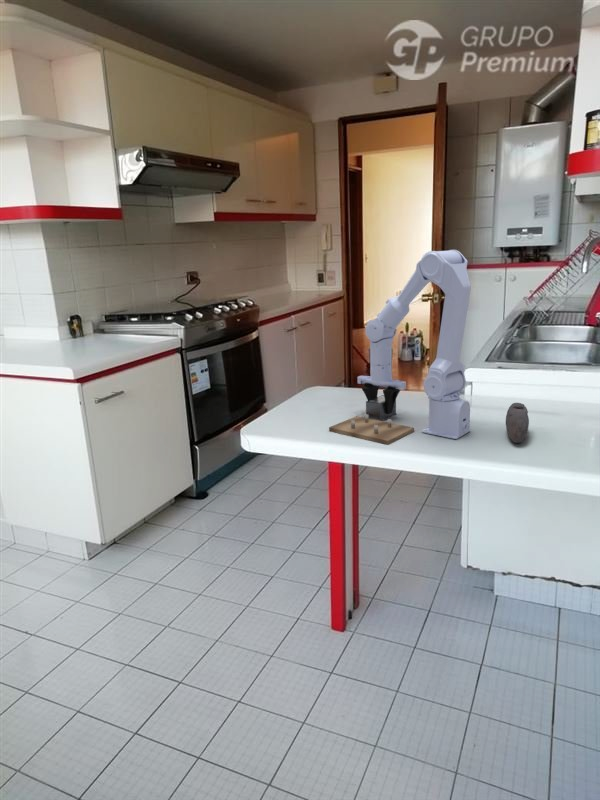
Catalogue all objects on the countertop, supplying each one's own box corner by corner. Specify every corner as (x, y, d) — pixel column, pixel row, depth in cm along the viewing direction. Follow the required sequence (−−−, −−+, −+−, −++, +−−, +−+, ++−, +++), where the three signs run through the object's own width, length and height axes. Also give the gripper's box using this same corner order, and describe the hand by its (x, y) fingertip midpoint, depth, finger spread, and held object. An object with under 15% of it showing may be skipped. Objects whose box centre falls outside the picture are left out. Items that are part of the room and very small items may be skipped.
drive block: (396, 414, 157) (396, 397, 156) (379, 421, 151) (379, 403, 150) (382, 412, 160) (382, 394, 159) (366, 419, 154) (365, 401, 153)
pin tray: (414, 431, 142) (414, 420, 142) (387, 444, 134) (387, 432, 133) (356, 419, 154) (356, 409, 153) (329, 431, 146) (328, 419, 145)
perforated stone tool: (527, 449, 127) (529, 419, 126) (503, 446, 129) (504, 418, 128) (528, 428, 141) (529, 402, 139) (505, 427, 143) (507, 400, 141)
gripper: (412, 363, 150) (411, 412, 153) (367, 358, 159) (368, 404, 163) (397, 368, 145) (397, 418, 148) (352, 362, 154) (353, 410, 158)
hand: (381, 411), depth 155 cm, fingers closed on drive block, 4 cm apart
